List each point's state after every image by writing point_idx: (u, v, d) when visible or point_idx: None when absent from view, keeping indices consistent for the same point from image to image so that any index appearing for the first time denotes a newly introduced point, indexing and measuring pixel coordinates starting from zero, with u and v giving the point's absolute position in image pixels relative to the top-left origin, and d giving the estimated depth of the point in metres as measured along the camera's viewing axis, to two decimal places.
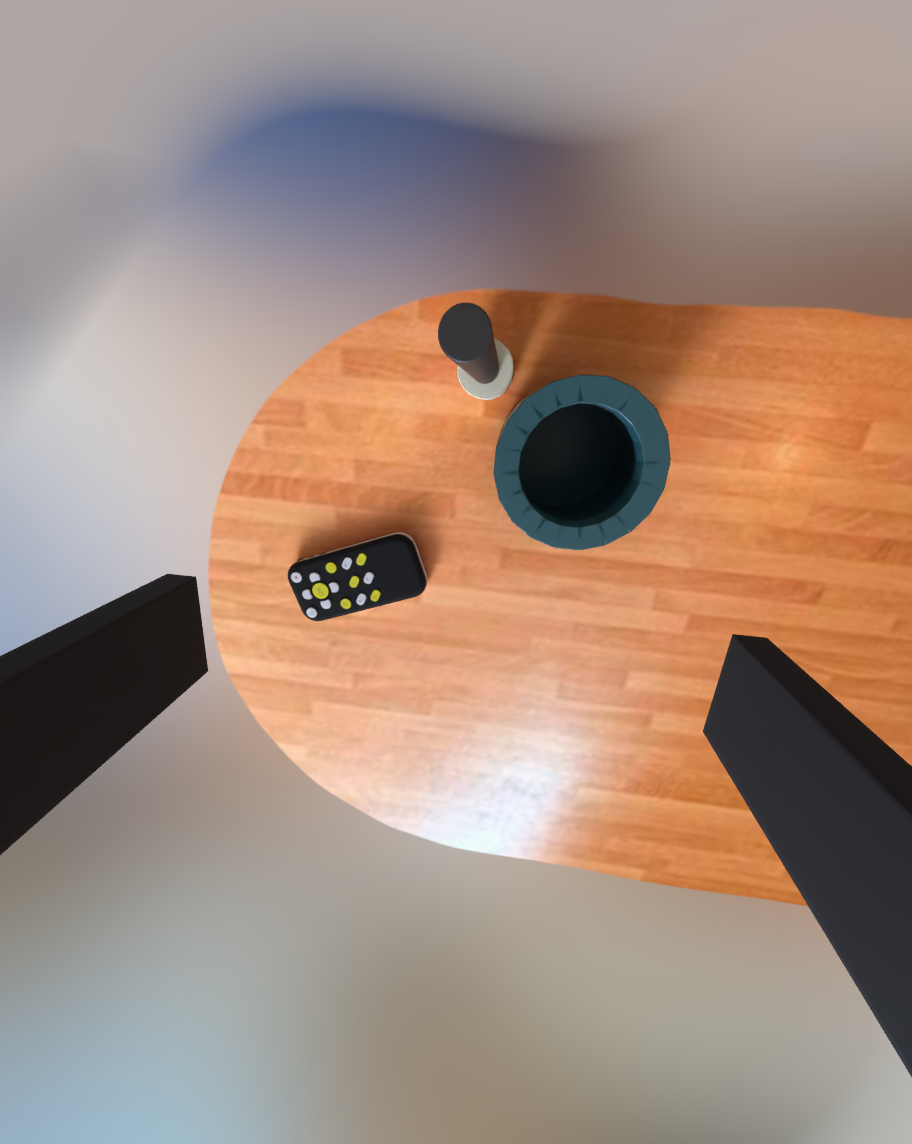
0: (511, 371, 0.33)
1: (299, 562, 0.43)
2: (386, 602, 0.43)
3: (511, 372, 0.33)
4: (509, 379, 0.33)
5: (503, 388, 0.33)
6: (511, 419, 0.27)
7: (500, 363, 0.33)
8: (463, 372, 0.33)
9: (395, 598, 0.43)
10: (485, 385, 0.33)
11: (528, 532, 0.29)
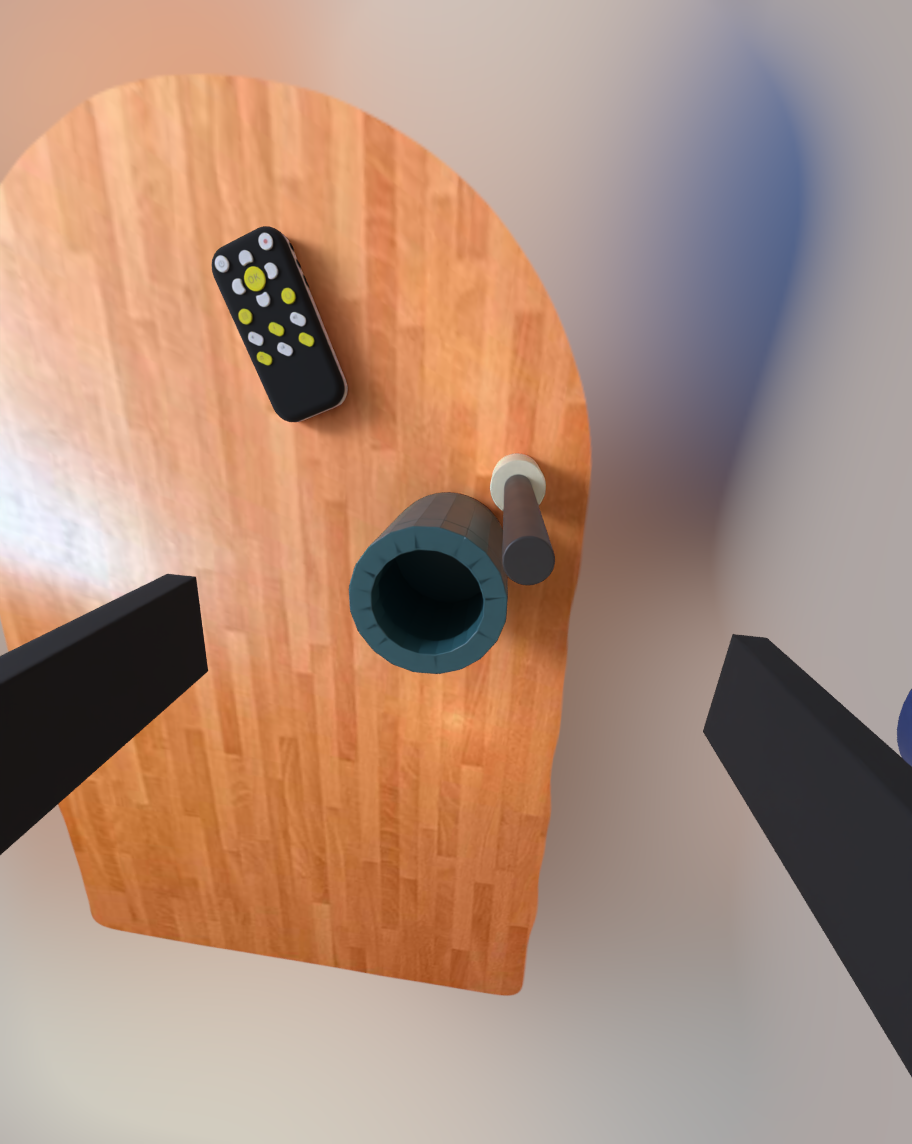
0: None
1: (287, 246, 0.33)
2: (259, 372, 0.36)
3: None
4: None
5: (500, 506, 0.34)
6: (466, 540, 0.28)
7: None
8: (514, 466, 0.33)
9: (265, 385, 0.36)
10: (502, 489, 0.34)
11: (360, 562, 0.29)
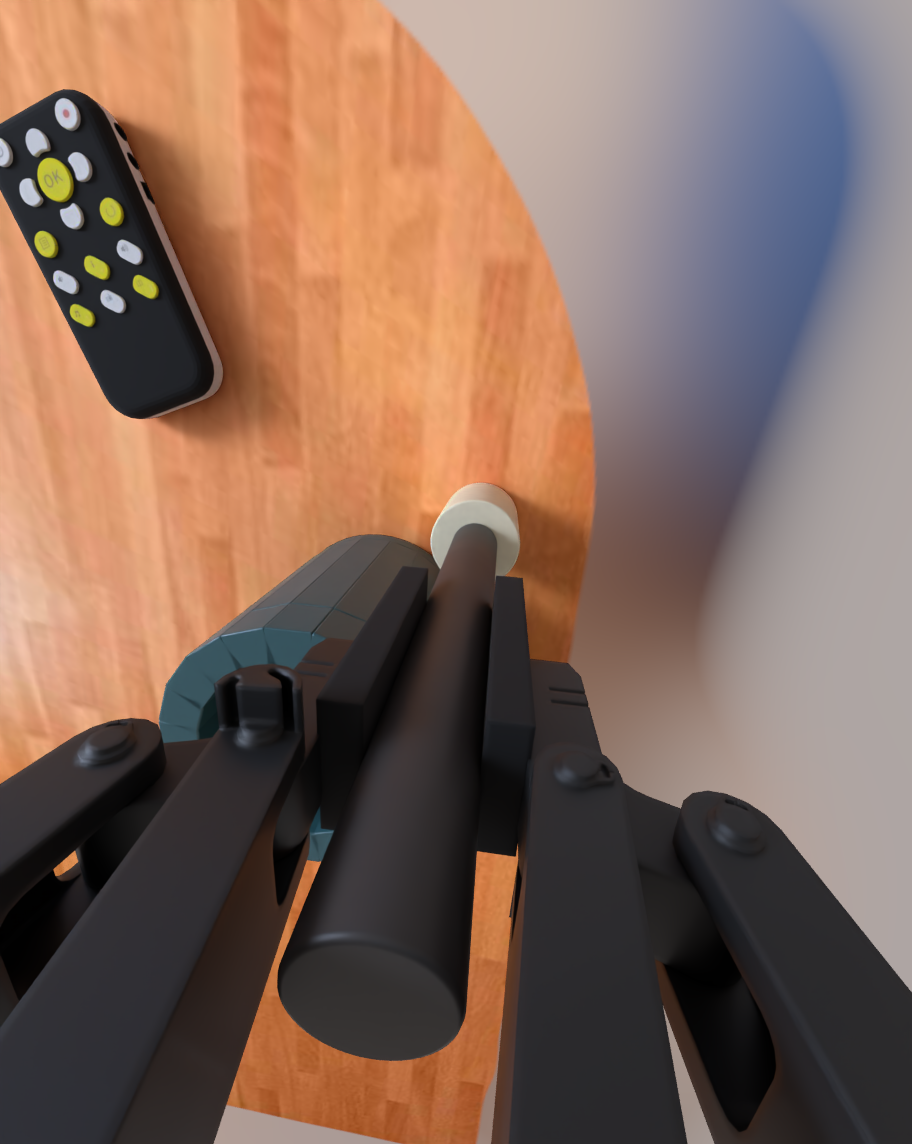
0: None
1: (106, 126, 0.20)
2: (77, 338, 0.23)
3: None
4: None
5: None
6: None
7: None
8: (469, 510, 0.20)
9: (88, 358, 0.23)
10: (450, 544, 0.21)
11: (173, 682, 0.16)
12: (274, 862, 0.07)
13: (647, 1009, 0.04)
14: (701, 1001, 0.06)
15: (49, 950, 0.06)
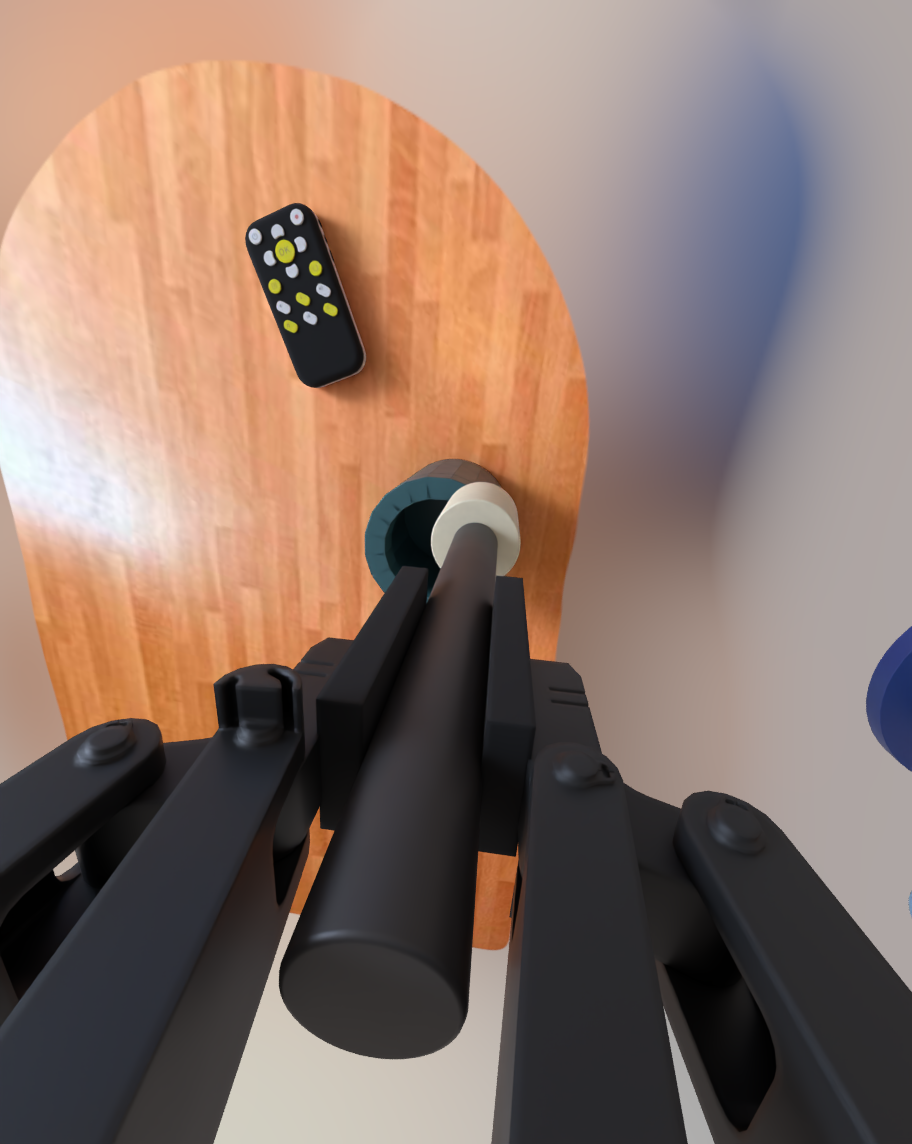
0: None
1: (316, 222, 0.36)
2: (284, 339, 0.39)
3: None
4: None
5: None
6: None
7: None
8: (470, 509, 0.20)
9: (291, 351, 0.39)
10: (450, 544, 0.21)
11: (376, 510, 0.32)
12: (274, 862, 0.07)
13: (647, 1009, 0.04)
14: (702, 1000, 0.06)
15: (49, 950, 0.06)
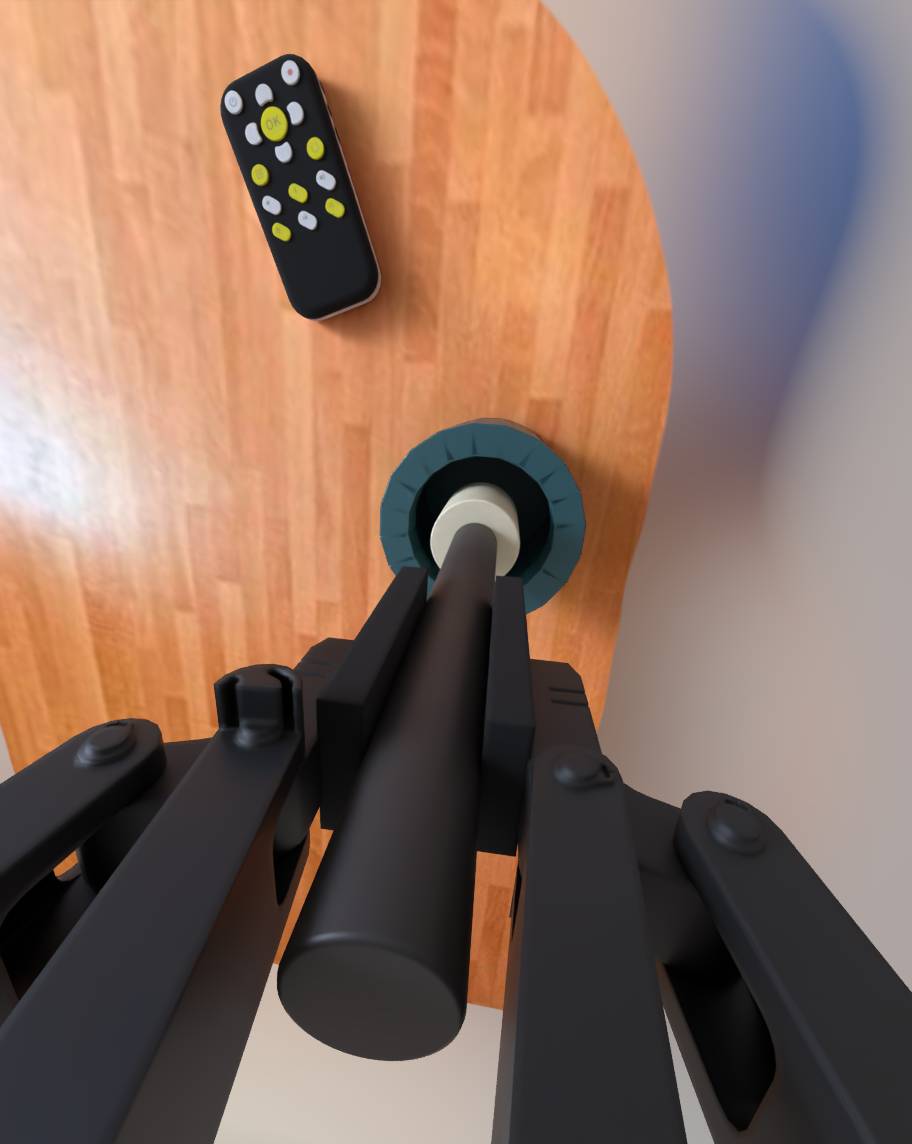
0: None
1: (316, 82, 0.26)
2: (273, 251, 0.29)
3: None
4: None
5: None
6: (539, 444, 0.22)
7: None
8: (469, 510, 0.20)
9: (281, 267, 0.29)
10: (450, 544, 0.21)
11: (397, 472, 0.23)
12: (274, 862, 0.07)
13: (647, 1009, 0.04)
14: (701, 1001, 0.06)
15: (49, 950, 0.06)
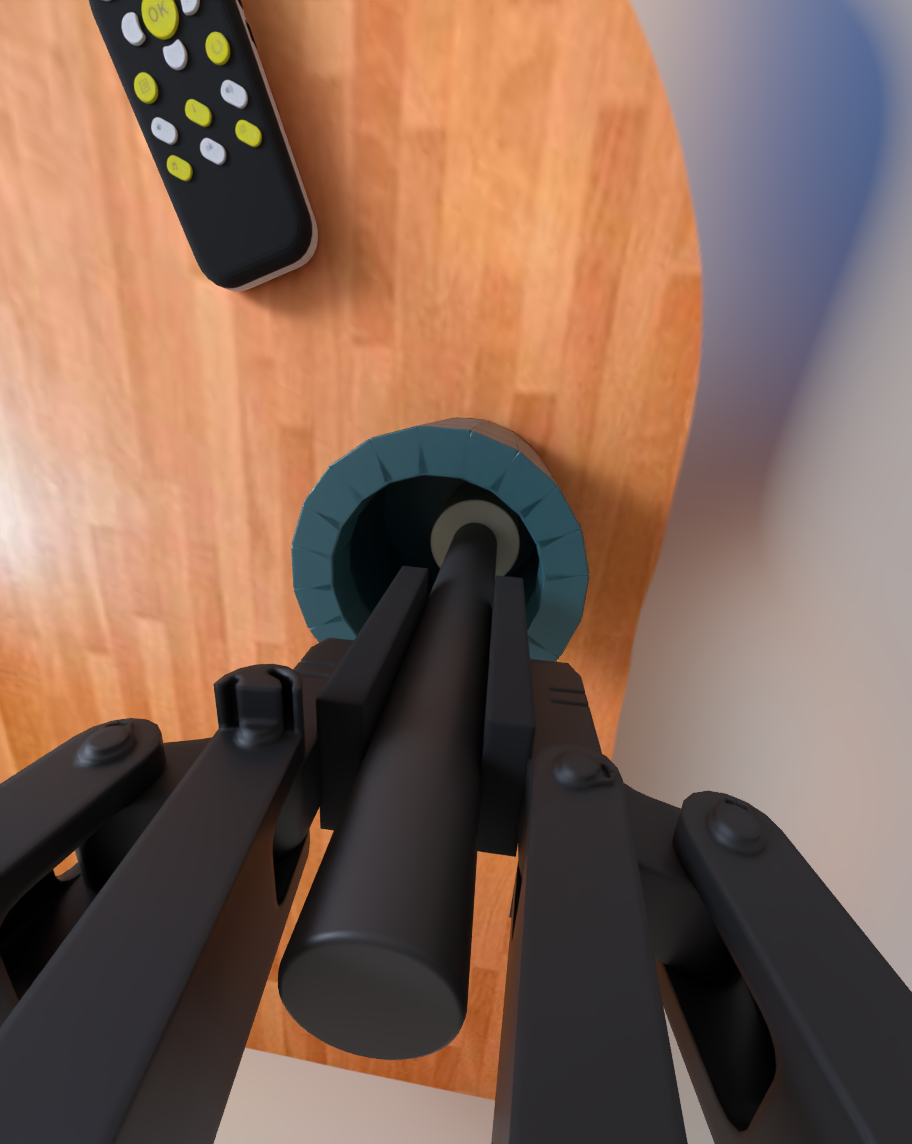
0: None
1: None
2: (171, 196, 0.22)
3: None
4: None
5: None
6: (520, 459, 0.14)
7: None
8: (469, 510, 0.20)
9: (183, 218, 0.22)
10: (450, 544, 0.21)
11: (312, 498, 0.15)
12: (274, 862, 0.07)
13: (647, 1009, 0.04)
14: (701, 1000, 0.06)
15: (49, 950, 0.06)
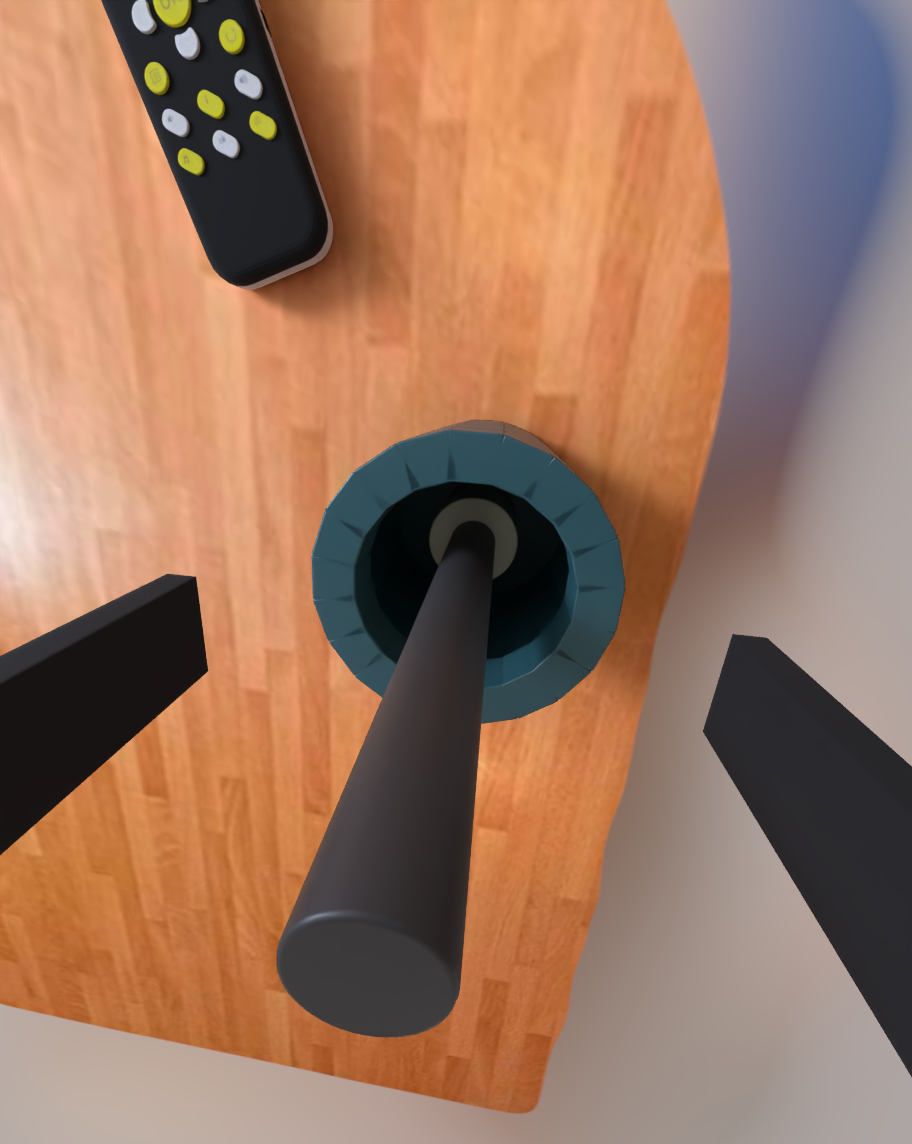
0: None
1: None
2: (182, 190, 0.21)
3: None
4: None
5: None
6: (555, 464, 0.14)
7: None
8: (468, 508, 0.20)
9: (194, 213, 0.21)
10: (448, 542, 0.21)
11: (334, 505, 0.15)
12: None
13: None
14: None
15: None
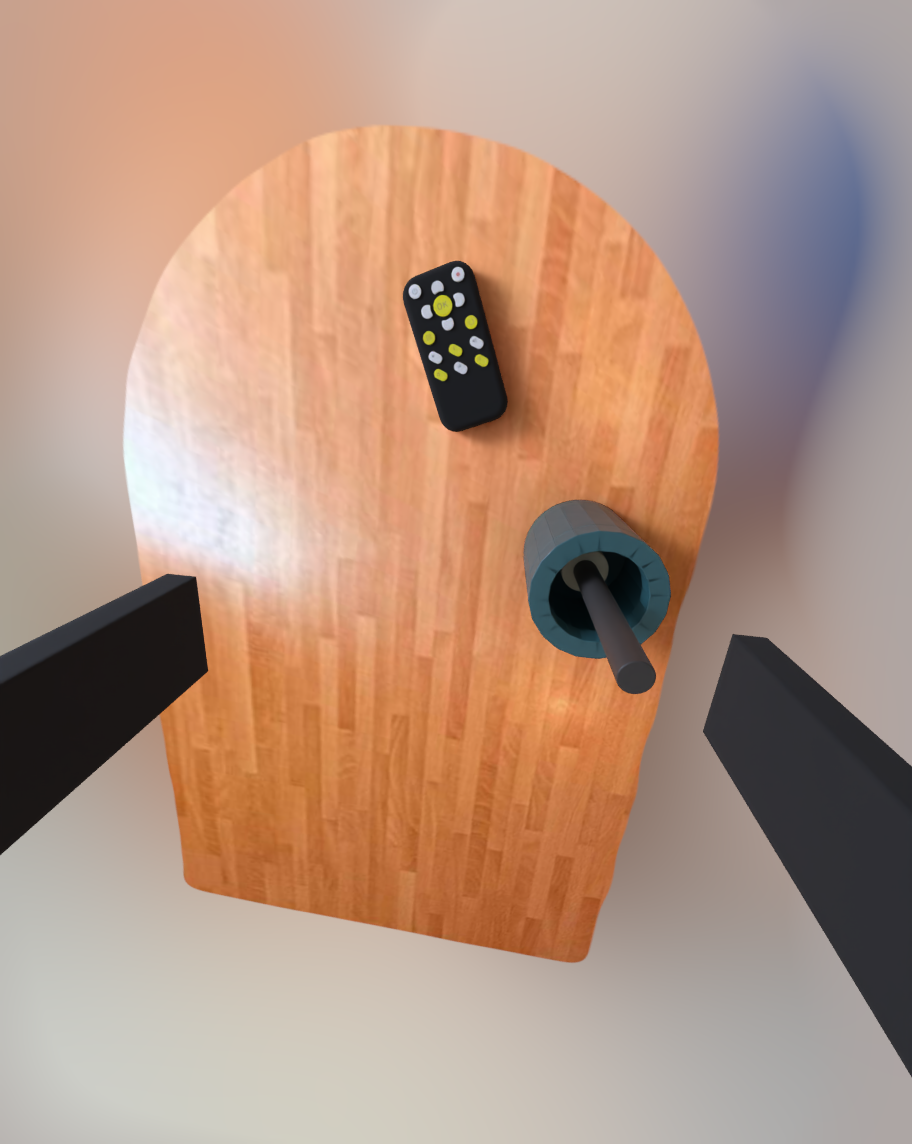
0: (580, 590, 0.41)
1: (474, 279, 0.38)
2: (432, 387, 0.41)
3: (580, 590, 0.41)
4: (574, 589, 0.41)
5: (568, 584, 0.41)
6: (643, 545, 0.33)
7: None
8: None
9: (438, 398, 0.41)
10: (571, 570, 0.40)
11: (545, 559, 0.34)
12: None
13: None
14: None
15: None
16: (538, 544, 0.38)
